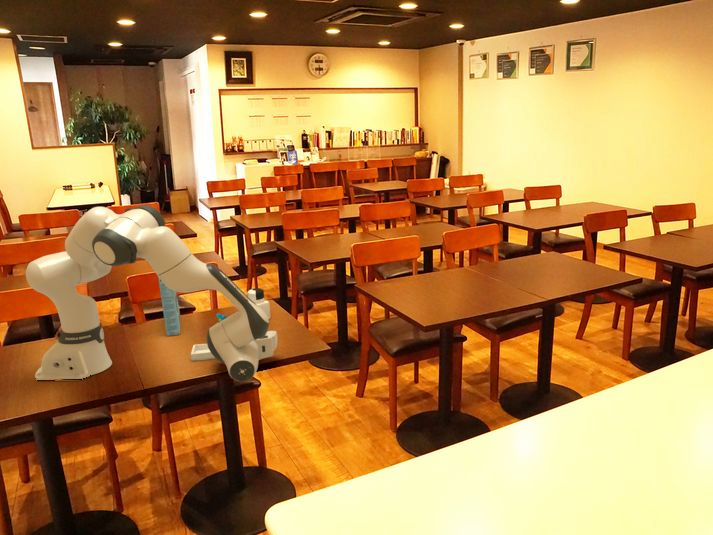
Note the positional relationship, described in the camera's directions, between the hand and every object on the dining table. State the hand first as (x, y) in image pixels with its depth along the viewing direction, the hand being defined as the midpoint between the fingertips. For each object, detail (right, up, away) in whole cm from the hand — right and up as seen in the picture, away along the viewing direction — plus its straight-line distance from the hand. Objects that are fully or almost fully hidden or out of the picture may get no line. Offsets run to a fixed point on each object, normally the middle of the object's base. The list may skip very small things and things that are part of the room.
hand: (246, 332), depth 194 cm
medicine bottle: (-2, +1, +34) cm, 34 cm away
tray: (-13, -8, +2) cm, 15 cm away
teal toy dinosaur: (-11, -2, +24) cm, 26 cm away
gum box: (-33, -1, +30) cm, 45 cm away
